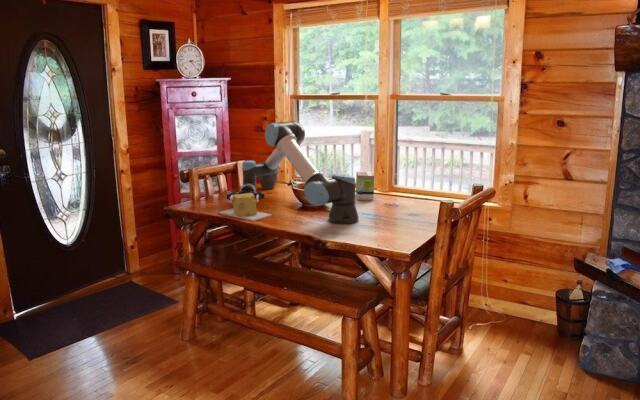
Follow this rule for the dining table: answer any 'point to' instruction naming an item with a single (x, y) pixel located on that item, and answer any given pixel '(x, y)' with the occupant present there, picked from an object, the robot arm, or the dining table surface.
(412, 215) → the dining table surface
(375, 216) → the dining table surface
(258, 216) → the mat
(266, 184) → the plant pot
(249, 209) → the cheese
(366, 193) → the tea box
